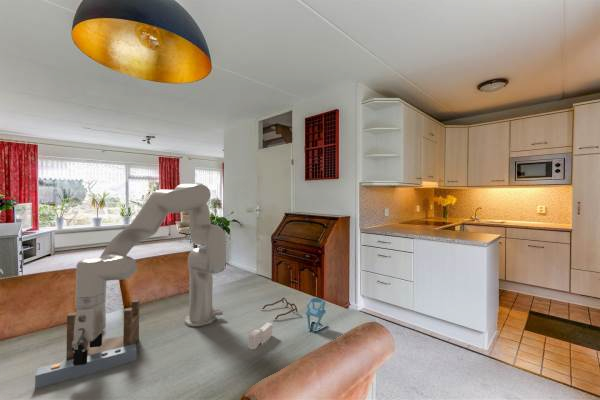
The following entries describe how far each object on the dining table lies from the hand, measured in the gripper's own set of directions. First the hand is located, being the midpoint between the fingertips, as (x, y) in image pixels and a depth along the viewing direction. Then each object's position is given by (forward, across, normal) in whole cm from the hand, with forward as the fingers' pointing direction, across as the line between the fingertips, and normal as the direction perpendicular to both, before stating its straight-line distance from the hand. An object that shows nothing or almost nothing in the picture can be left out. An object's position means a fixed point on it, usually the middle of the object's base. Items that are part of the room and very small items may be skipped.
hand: (88, 355), depth 82 cm
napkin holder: (+4, +4, -53) cm, 53 cm away
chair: (+4, +9, -78) cm, 78 cm away
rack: (+5, +12, 0) cm, 12 cm away
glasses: (+4, +27, -65) cm, 71 cm away
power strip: (+5, 0, -1) cm, 5 cm away
